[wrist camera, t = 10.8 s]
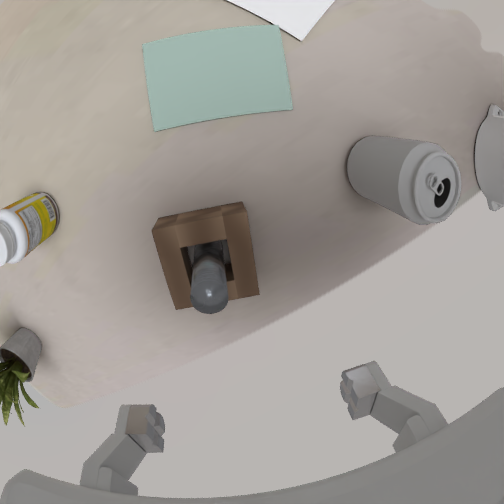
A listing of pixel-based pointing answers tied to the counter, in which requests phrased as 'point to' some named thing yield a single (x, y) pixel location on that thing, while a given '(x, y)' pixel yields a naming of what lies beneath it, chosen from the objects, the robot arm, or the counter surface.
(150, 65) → the mat
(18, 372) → the house plant
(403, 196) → the can
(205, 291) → the pin
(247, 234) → the hole block
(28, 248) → the supplement bottle
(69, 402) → the counter surface
